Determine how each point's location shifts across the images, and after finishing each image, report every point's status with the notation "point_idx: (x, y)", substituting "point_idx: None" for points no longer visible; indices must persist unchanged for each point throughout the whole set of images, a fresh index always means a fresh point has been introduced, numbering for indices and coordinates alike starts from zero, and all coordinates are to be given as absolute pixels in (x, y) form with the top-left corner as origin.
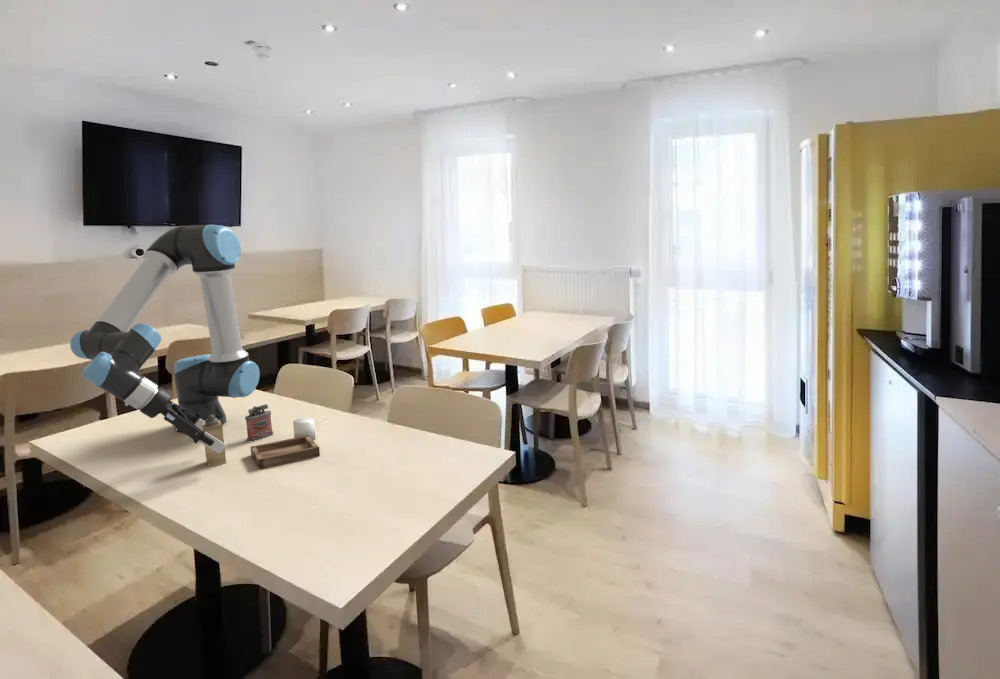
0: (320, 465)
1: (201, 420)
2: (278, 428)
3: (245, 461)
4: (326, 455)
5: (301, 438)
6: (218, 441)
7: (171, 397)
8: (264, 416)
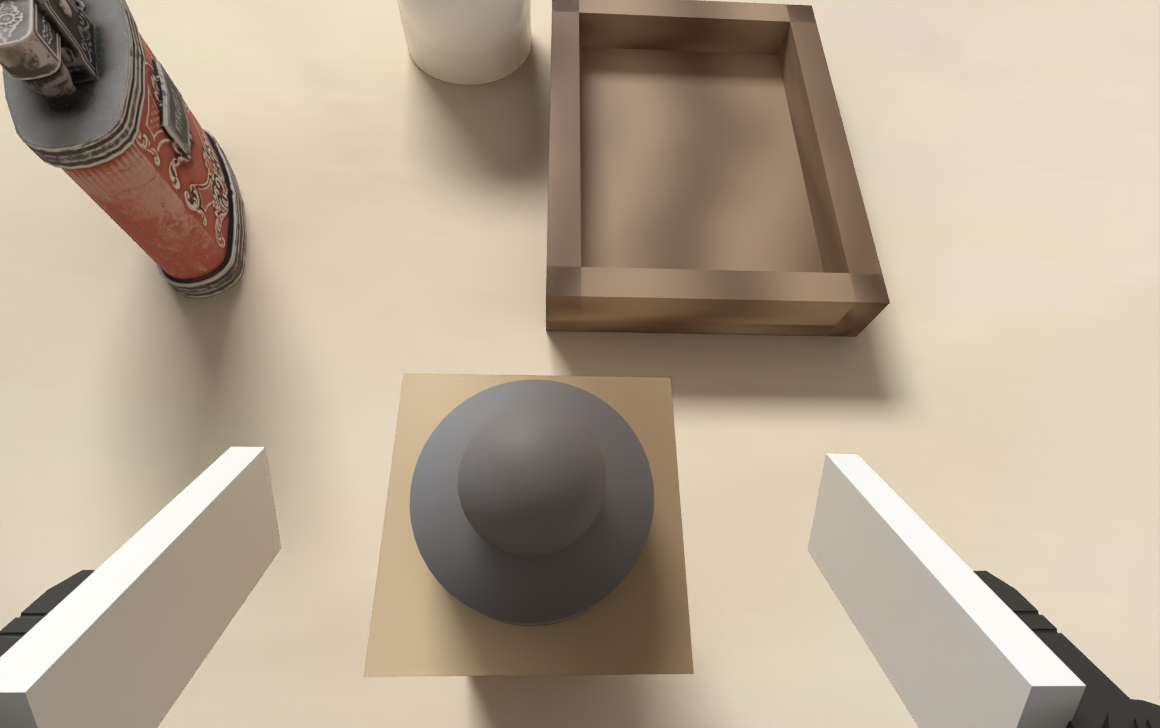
0: (935, 85)
1: (66, 661)
2: None
3: None
4: None
5: (578, 31)
6: (912, 518)
7: None
8: (138, 36)
